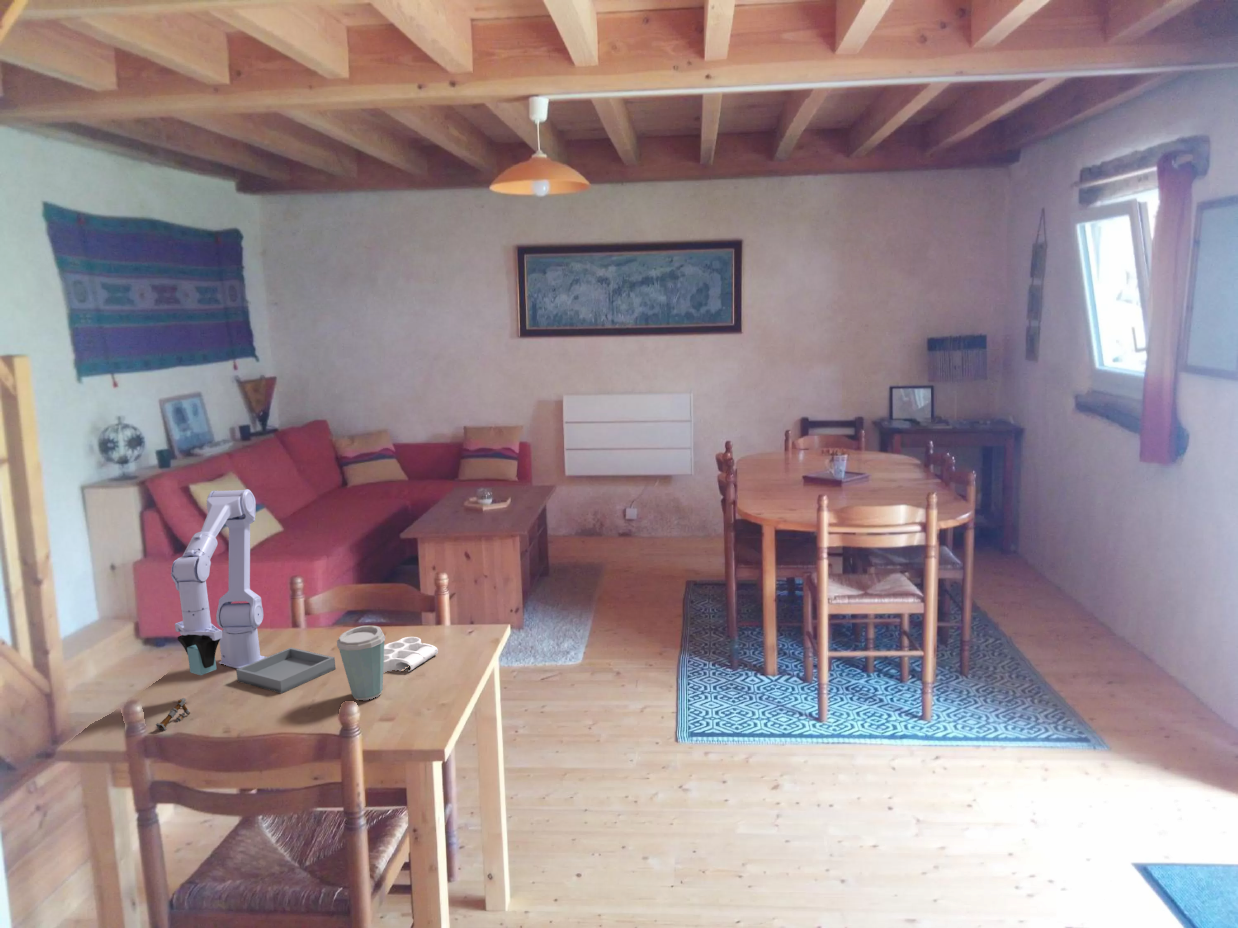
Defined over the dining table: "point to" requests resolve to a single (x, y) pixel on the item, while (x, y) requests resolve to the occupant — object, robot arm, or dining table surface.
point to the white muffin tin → (407, 653)
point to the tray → (285, 670)
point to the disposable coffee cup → (363, 660)
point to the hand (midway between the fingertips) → (202, 664)
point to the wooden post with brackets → (173, 713)
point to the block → (197, 662)
